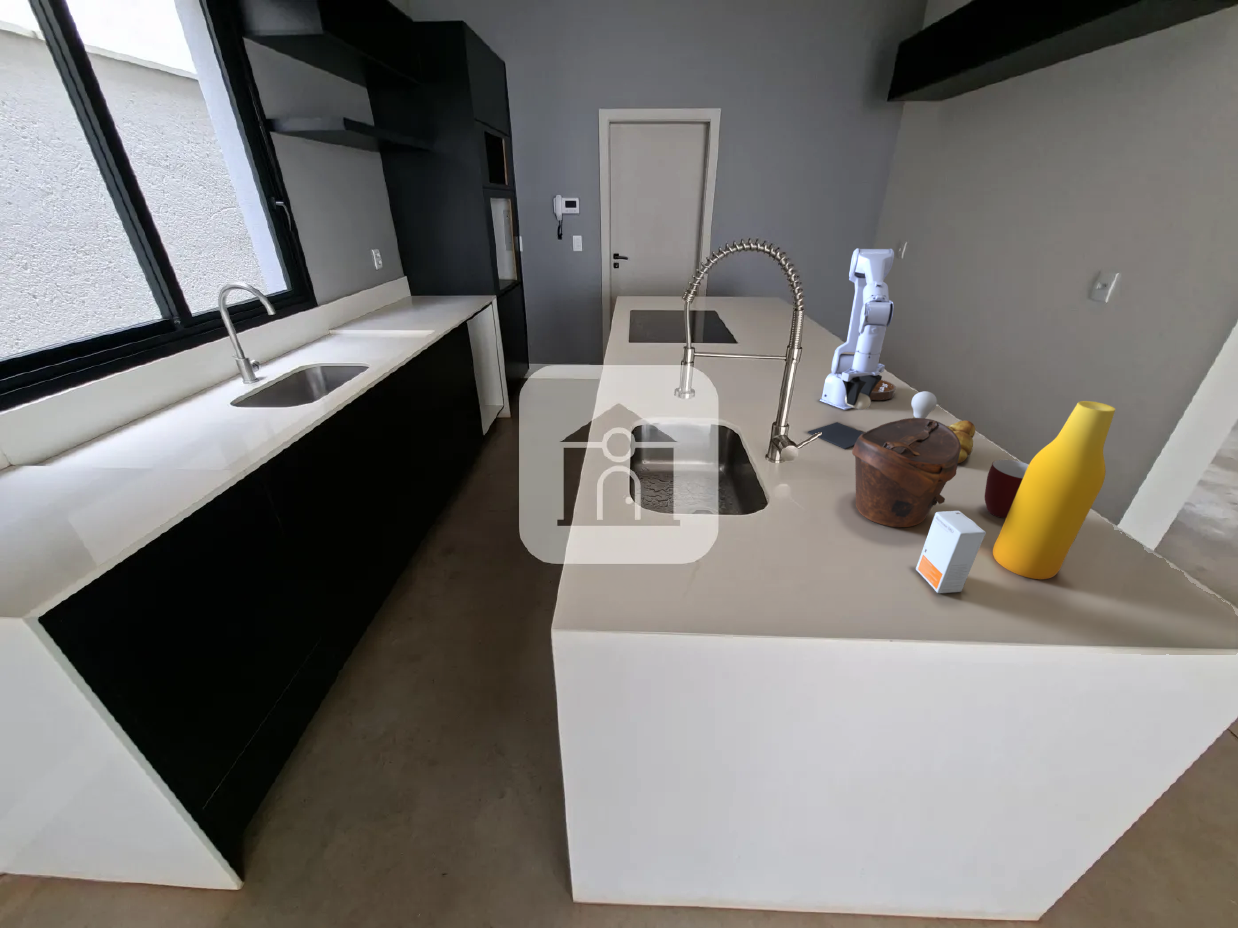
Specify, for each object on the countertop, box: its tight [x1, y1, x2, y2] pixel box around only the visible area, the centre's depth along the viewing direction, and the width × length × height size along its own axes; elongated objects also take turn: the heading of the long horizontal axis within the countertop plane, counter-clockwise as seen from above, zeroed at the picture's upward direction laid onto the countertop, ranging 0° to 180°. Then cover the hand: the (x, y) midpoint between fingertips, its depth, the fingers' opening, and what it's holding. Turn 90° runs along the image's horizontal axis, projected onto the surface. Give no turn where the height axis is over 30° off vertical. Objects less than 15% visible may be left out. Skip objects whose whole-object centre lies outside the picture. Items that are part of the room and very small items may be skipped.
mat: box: [807, 421, 864, 450], centre depth 132 cm, size 12×12×1 cm
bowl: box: [869, 379, 897, 401], centre depth 160 cm, size 15×15×3 cm
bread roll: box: [946, 419, 976, 464], centre depth 120 cm, size 13×10×8 cm
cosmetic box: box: [915, 510, 987, 594], centre depth 79 cm, size 6×4×12 cm
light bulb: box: [910, 390, 938, 419], centre depth 135 cm, size 6×6×10 cm
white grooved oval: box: [845, 393, 872, 411], centre depth 130 cm, size 7×4×4 cm, turn 31°
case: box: [851, 417, 961, 528], centre depth 96 cm, size 18×20×18 cm
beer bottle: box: [992, 400, 1116, 580], centre depth 79 cm, size 9×9×29 cm
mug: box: [984, 459, 1030, 519], centre depth 96 cm, size 10×8×10 cm
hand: (856, 402), depth 131 cm, fingers closed on white grooved oval, 4 cm apart
